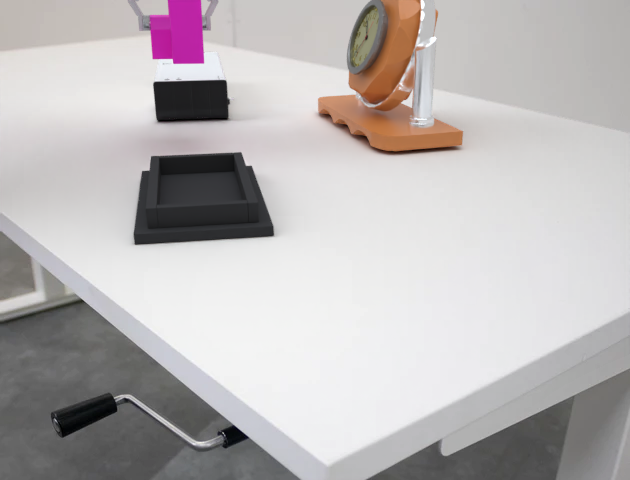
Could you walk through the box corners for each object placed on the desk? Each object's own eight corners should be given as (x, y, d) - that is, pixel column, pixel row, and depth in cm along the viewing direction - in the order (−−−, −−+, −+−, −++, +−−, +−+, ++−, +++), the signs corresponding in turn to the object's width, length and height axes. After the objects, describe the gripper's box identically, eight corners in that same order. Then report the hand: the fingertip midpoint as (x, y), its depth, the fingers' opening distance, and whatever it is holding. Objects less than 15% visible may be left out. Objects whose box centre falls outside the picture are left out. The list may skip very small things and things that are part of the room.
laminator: (162, 86, 147) (159, 52, 145) (225, 84, 149) (224, 51, 146) (156, 123, 117) (152, 81, 114) (236, 120, 119) (234, 79, 116)
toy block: (152, 49, 105) (148, -10, 102) (198, 49, 106) (194, -9, 103) (152, 64, 92) (147, -3, 89) (204, 63, 93) (201, -3, 90)
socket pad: (134, 244, 70) (131, 213, 69) (142, 178, 90) (140, 153, 88) (273, 235, 72) (272, 205, 71) (252, 173, 92) (251, 148, 90)
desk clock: (381, 107, 128) (385, -23, 119) (465, 148, 102) (478, -14, 93) (312, 112, 124) (311, -22, 116) (380, 156, 99) (386, -12, 90)
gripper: (76, -95, 87) (90, 33, 93) (253, -91, 90) (255, 32, 96) (81, -92, 93) (94, 28, 99) (248, -89, 96) (251, 27, 102)
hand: (175, 30), depth 98 cm, fingers closed on toy block, 6 cm apart
